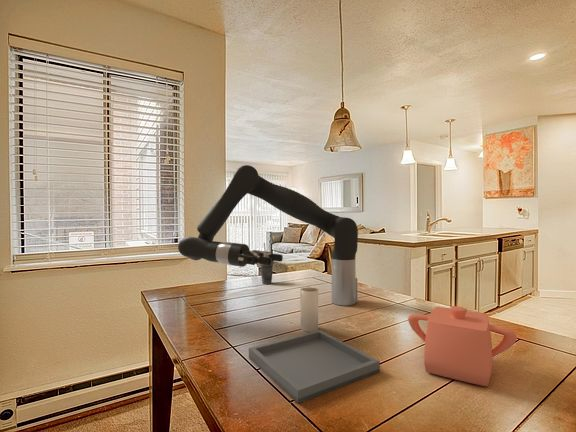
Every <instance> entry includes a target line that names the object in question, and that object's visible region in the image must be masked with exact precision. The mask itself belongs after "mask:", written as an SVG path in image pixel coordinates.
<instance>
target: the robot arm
mask: <svg viewBox="0 0 576 432" xmlns="http://www.w3.org/2000/svg"><path fill="white" fill-rule="evenodd" d="M247 194H248V195H250V196H253V197H256V198H259V199H260V200H263V201H264V202H266V203H268V204H269V205H271V206H272V207H274V208H276V209H277V210H279V211H281V212H282V213H284V214H286V215H289V216H290V217H292V218H294V219H296V220H299V221H300V222H303V223H305V224H309V225H311V226H314V227H317V229H319V230H321V231H323V232H324V233H326V234H328V235H329V236H330V237H332V238H333V239H334V240H333V241H334V245H333V249H332V251H331V303H332V304H334V305H336V306H343V307H344V306H352V305H355V304H356V303H358V277H356V272H357V271H356V254H357V251H358V242H359V241H358V240H359V230H358V226H357V225H358V224H357V222H356V221H355V220H354V219H352V218H351V217H345V216H344V217H342V216H339V215H336V214H333V213H331V212H328V211H327V210H325V209H323V208H322V207H320V206H319V205H318V203H315V202H314V201H313V200H312V199H310V198H309V197H308V196H306V195H303V194H302V193H300V192H298V191H296V190H293V189H291V188H288V187H286V186H282V185H279V184H275V183H272V182H271V181H269V180H267V179H265V178H264V177H262V176H260V175H259V172H258V170H257V169H256V168H255V167H253V166H252V165H249V164H244V165H240V166H239V167H238V168H236V170H235V171H234V172H233V176H232V178H231V180H230V182H229V184H228V186H227V187H226V189H225V190H224V192H223V194H222V195H221V196H220V197H219V199H217V201H216V202H215V203H214V204H213V206H212V207H211V208H210V209H209V210H208V211H207V213H206V214H205V216H204V217H203V219H202V220H201V221H200V222H199V223H198V225H197V227H196V231H197V232H198V233H199V234H198V236H197V237H195V236H185V237H184V238H182V239H181V240H180V241H179V243H178V245H177V249H178V252H179V253H180V254H181V256H183V257H185V258H187V259H191V260H193V261H200V260H202V259H203V260H205V261H208V262H211V263H220V264H223V265H227V266H234V267H241V268H244V267H245V266H247V265H252V266H255V265H260V264H264V265H271V264H272V261H274V262H280V263H281V262H283V259H284V256H283V255H282V254H279V253H274V252H273V251H265V250H259V249H258V250H257V249H252V250H250V247H249V245H248V244H245V243H239V242H229V241H227V242H225V241H224V242H223V241H214V238H215V237H216V235H217V233H218V232H219V231H220V230H221V228H222V227H223V226H224V224H225V223H226V221H227V220H228V219H229V217H230V215H231V214H232V212H233V211H234V209H236V207H237V206H238V204H239V203H240V202H241V200H242V199H244V197H245V196H246V195H247ZM267 255H269V257H267Z"/></svg>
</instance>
